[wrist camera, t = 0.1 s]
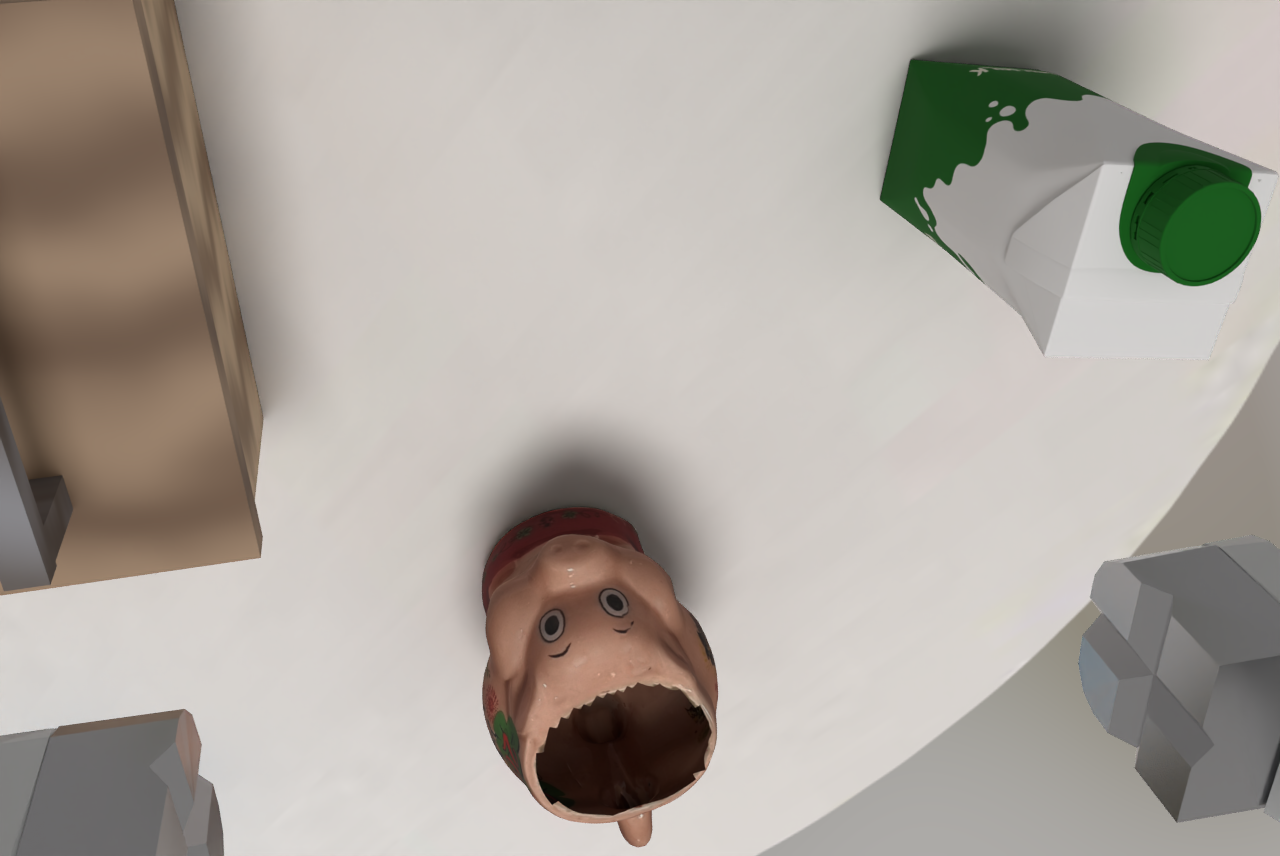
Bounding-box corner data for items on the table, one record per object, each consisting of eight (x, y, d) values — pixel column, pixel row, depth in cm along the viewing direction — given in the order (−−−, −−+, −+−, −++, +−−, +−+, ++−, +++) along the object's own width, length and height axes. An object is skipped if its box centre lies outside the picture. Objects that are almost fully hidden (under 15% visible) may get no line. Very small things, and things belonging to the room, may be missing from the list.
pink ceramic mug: (713, 679, 76) (782, 854, 64) (528, 747, 76) (564, 935, 64) (627, 419, 66) (691, 571, 54) (412, 495, 65) (429, 665, 53)
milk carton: (1059, 51, 61) (1339, 177, 44) (1011, 225, 65) (1250, 401, 48) (896, 38, 58) (1124, 164, 41) (857, 218, 63) (1050, 399, 46)
